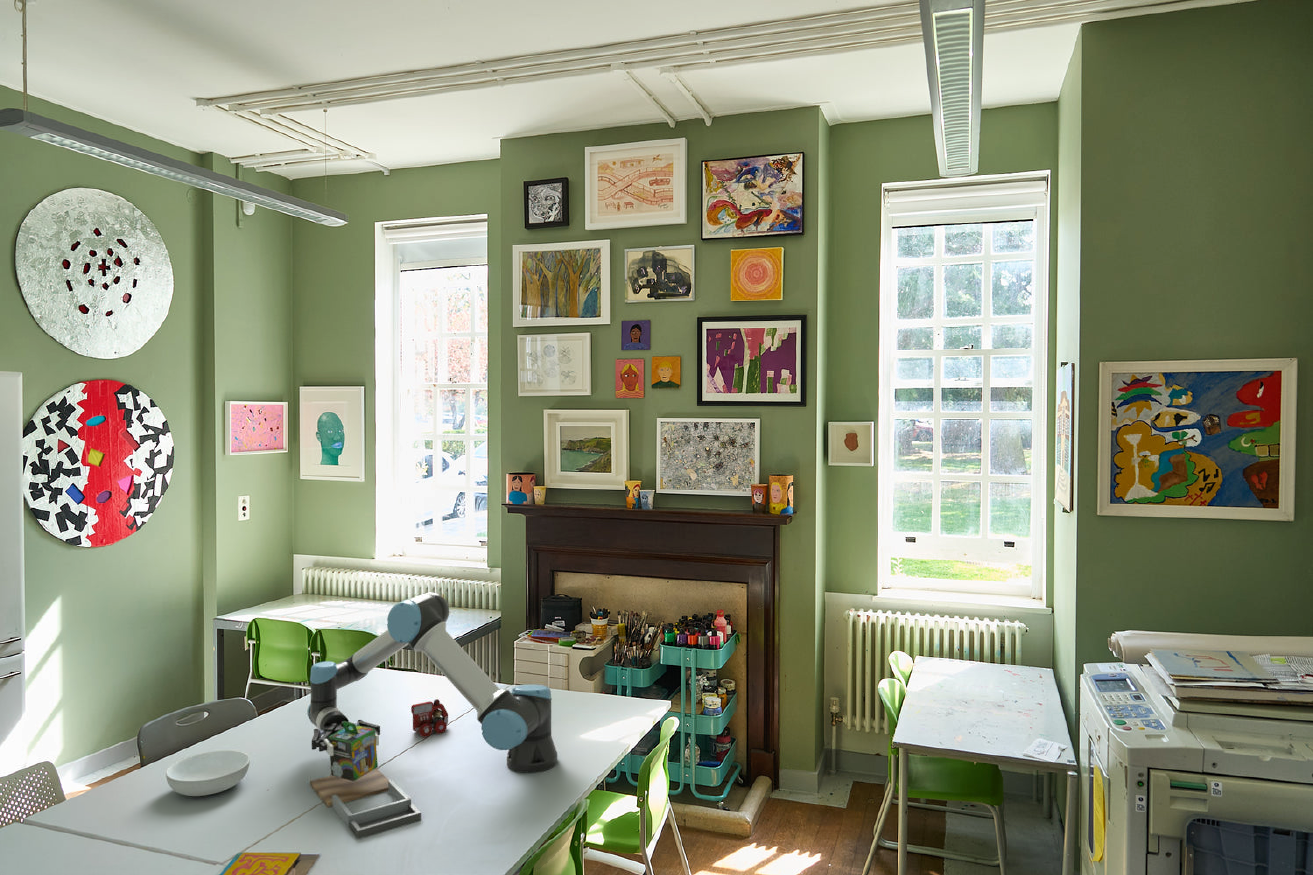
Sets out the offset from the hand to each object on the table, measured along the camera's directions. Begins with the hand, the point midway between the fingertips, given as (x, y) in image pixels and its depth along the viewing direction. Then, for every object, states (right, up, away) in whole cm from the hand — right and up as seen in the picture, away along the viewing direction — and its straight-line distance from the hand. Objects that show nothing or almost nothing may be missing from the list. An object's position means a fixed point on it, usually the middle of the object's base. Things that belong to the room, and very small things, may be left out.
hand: (355, 745), depth 231 cm
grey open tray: (+10, -13, -13) cm, 21 cm away
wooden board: (-2, -13, +3) cm, 13 cm away
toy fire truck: (+9, -12, +45) cm, 48 cm away
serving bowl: (-42, -13, +3) cm, 44 cm away
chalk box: (-1, -8, +3) cm, 9 cm away
